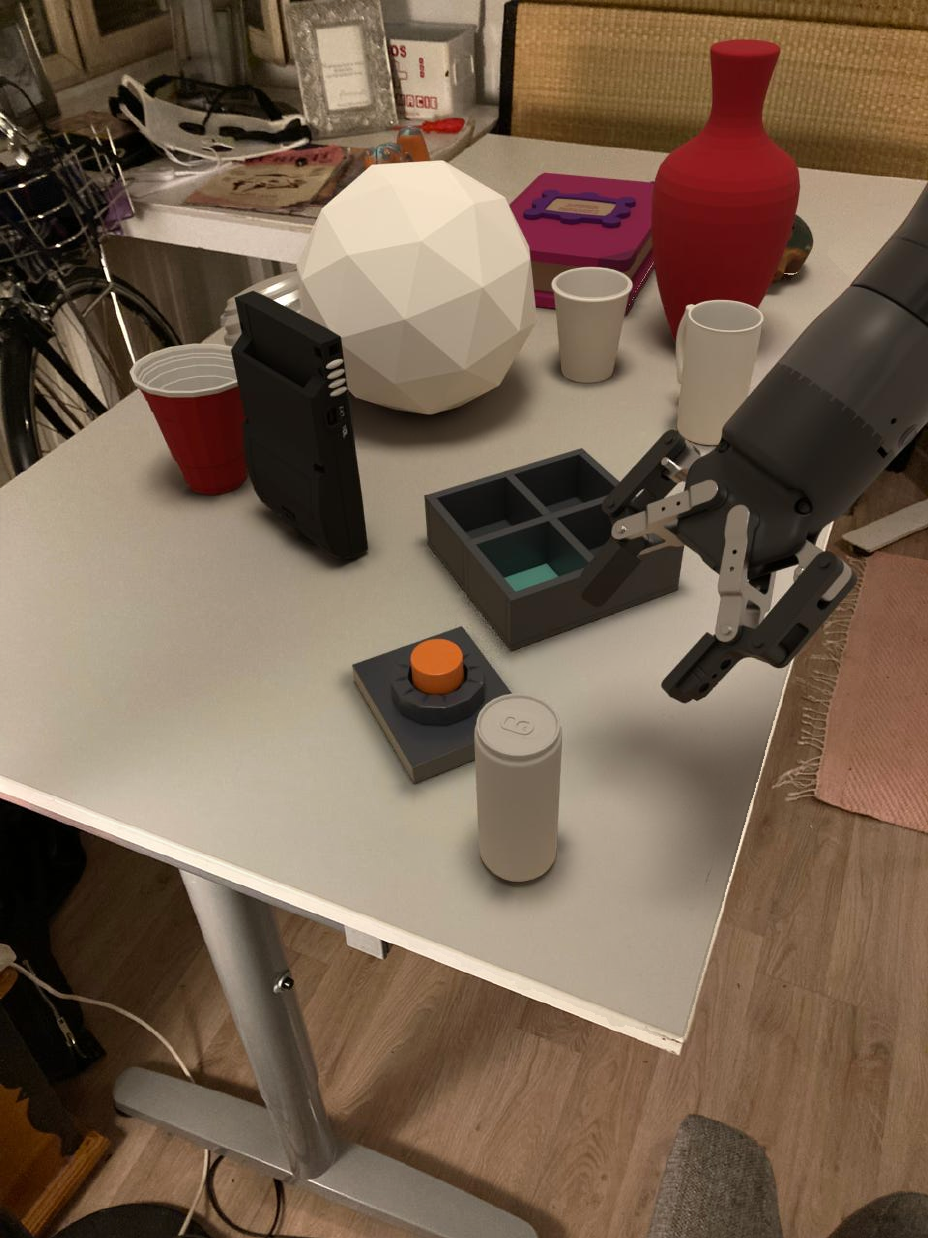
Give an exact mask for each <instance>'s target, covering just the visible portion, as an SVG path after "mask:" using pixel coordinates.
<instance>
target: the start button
mask: <svg viewBox="0 0 928 1238" xmlns="http://www.w3.org/2000/svg"><path fill="white" fill-rule="evenodd" d="M410 660H411V670H412V680H413V683H414V685H415V687H416V688H417V689H418V690H420V691H421V692H423V693H425V694H428V695H445V694H448V693H451V692H453V691H455V690H456V689H457V688H458V687H459V686H460V685H461V683H462V682H463V678H464V671H463V654H462V651H461V649H460V648H459V647H458V646H457V645H456V644H455V643H453V642H451V641H448V640H444V639H432V640H428V641H425V642H422V643H420V644H419V645H418V646H416V647H415V648H414V650H413V651H412V653H411V658H410Z"/></svg>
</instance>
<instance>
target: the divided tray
mask: <svg viewBox="0 0 928 1238" xmlns="http://www.w3.org/2000/svg"><path fill="white" fill-rule="evenodd" d="M620 481H621V480H619V479H617V477H615V476H614V475H613V474H612V473H610V471H608V469H606V468H605V467H604V466H603V465H602V464H601V463H600V462H598V461H597V459H595V458H594V457H592V455H591V454H589V453H588V452H587V451H586V450H585V449H584V448H582V447H580V448H576V449H574V450H570V451H567V452H564V453H559V454H556V455H554V456H551V457H548V458H544V459H540V460H537V461H533V462H531V463H527V464H524V465H521V466H518V467H514V468H510V469H508V470H504V471H501V472H497V473H495V474H490V475H488V476H484V477H481V478H478V479H475V480H471V481H468V482H465V483H461V484H458V485H455V486H451V487H447V488H445V489H442V490H438V491H435V492H431V493H428V494H425V495H424V497H423V498H424V499H423V500H424V508H425V509H424V510H425V512H424V513H425V524H426V526H425V527H426V540H427V545H428V547H429V548H430V549H431V551H432V552H433V553H434V554H435V555H436V557H437V558H438V559H439V561H440V562H441V563H442V564H443V565H444V567H445V568H446V569H447V571H448V572H449V573H450V574H451V576H452V577H453V579H454V580H455V581H456V582H457V584H458V585H459V586H460V588H461V589H462V590H463V591H464V593H465V594H466V595H467V596H468V599H470V601H471V602H472V603H473V604H474V605H475V607H476V608H477V609H478V610H479V612H480V614H481V615H482V616H483V617H484V619H486V621H487V622H488V624H489V625H490V626H491V627H492V629H494V631H495V633H496V634H497V635H498V636H499V638H501V640H502V641H503V643H504V644H505V646H506V647H507V648H508V650H510V651H511V652H513V651H515V650H518V649H521V648H524V647H526V646H529V645H531V644H535V643H537V642H540V641H542V640H545V639H548V638H550V637H553V636H556V635H559V634H562V633H564V632H567V631H570V630H573V629H575V628H578V627H580V626H584V625H586V624H589V623H592V622H594V621H596V620H599V619H602V618H605V617H607V616H610V615H613V614H615V613H618V612H621V611H624V610H627V609H630V608H633V607H635V606H638V605H640V604H642V603H646V602H649V601H651V600H654V599H656V598H660V597H662V596H664V595H667V594H670V593H673V592H675V591H678V590H679V584H680V578H681V571H682V563H683V558H684V550H685V545H684V546H680V547H675V546H667V547H664V548H661V549H658V550H654V551H651V552H648V553H645V554H638V557H639V558H640V559H641V560H642V561H641V563H640V564H639V565H638V566H637V567H636V568H635V570H634V571H633V572H632V573H631V574H630V575H629V577H628V578H627V579H626V580H625V581H624V582H623V584H622V585H621V586H620V587H619V588H618V589H617V591H616V592H615V593H614V594H613V595H612V596H611V597H610V599H609V600H608V601H607V602H606V603H605V604H604V605H603V606H601V607H594V606H593V605H591V604H589V603H587V602H586V601H584V600H582V599H581V597H580V596H579V595H578V594H577V593H576V592H575V587H576V585H577V584H578V583H579V582H580V581H579V580H578V579H579V577H580V575H581V572H582V571H583V570H584V568H585V567H586V566H587V565H588V564H589V562H590V561H591V560H592V559H594V557H595V555H596V554H597V553H598V552H599V551H600V549H601V548H602V547H603V546H604V545H605V543H606V542H607V541H608V540H609V539H610V537H611V535H612V533H611V531H612V524H611V521H610V519H609V516H608V514H606V513H605V512H604V511H603V510H602V503H603V501H604V499H605V498H606V497H607V496H608V495H609V493H610V492H611V491H612V490H613V489H614V488H615V487H616V486H617V485H618V484H619V482H620ZM637 496H638V495H636V496H635V497H634V498H633V500H632V501H631V502H630V503H629V504H631V503H632V502H633V501H634V500H635V499H636V497H637Z"/></svg>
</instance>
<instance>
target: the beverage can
mask: <svg viewBox="0 0 928 1238" xmlns="http://www.w3.org/2000/svg"><path fill="white" fill-rule="evenodd" d="M474 742H475V760H474V761H475V762H474V764H475V787H476V789H475V790H476V810H477V811H476V812H477V813H476V815H477V829H478V830H477V832H478V851H479V854H480V857H481V860H482V861H483V863H484V865H485V866H486V867H487V868H488V870H490V871H491V873H493V875H495V876H497V877H499V878H500V879H502V880H505V881H509V882H516V883H517V882H519V883H520V882H521V883H522V882H528V881H533V880H535V879H537V878H539V877H541V876H543V875H544V874H545V873H547V871H549V870H550V868H551V866H553V864H554V863H555V859H556V856H557V852H558V851H557V850H558V830H559V812H560V810H559V809H560V794H561V793H560V791H561V770H562V769H561V768H562V752H563V729H562V726H561V720H560V717H559V714H558V712H557V711H556V709H554V707H553V706H552V705H551V704H550V703H549V702H547V701H546V700H544V699H543V698H541V697H538V696H535V695H532V694H528V693H512V694H508V695H503V696H500V697H498V698H495V699H493V700H492V701H490V702H489V703H487V704H486V705H485V706H484V707H483V709H482V710H481V711H480V713H479V715H478V718H477V724H476V726H475V735H474Z"/></svg>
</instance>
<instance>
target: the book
mask: <svg viewBox="0 0 928 1238" xmlns="http://www.w3.org/2000/svg"><path fill="white" fill-rule="evenodd" d="M654 182H655V180H653V181H652V180H650V181H641V180H630V179H619V178H609V177H598V176H597V177H596V176H585V175H575V174H566V173H565V174H564V173H553V172H543V173H541V174H538V176H537V177H535V179H533V181H531V182H530V183H529V184H528V185H527V186H526V187H525V188H524V189H523V190H522V192H520V193H519V194H518V196H516V197H515V198H514V199H513V200H512V201H511V202H510V203H508V204H509V206H510V209H511V211H512V213H513V215H514V217H515V219H516V221H517V223H518V225H519V227H520V229H521V231H522V233H523V235H524V237H525V239H526V241H527V244H528V246H529V250H530V260H531V269H532V278H533V288H534V297H535V306H536V307H540V308H548V309H553V310H554V309H555V310H556V308H555V297H554V291H553V289H552V281H553V279H554V278H555V277H556V276H558V275H559V274H561V273H562V272H565V271H567V270H571V269H575V268H583V267H600V268H608V269H612V270H616V271H619V272H621V273H623V274H625V275H626V276H627V277H628V278H629V279H630V280H631V281H632V285H633V286H632V290H631V291H630V292H629V296H628V301H627V306H626V310H625V315H624V318H625V317H627V316H628V315H629V313H630V311H631V310H632V308H633V307H634V301H635V299H636V298H637V296H638V295H639V293H640V291H641V289H642V288H643V286H644V285H645V283H646V282H647V280H648V278H649V277H650V275H651V274H652V272H653V271H654V270H655V266H654V263H653V262H654V259H653V248H652V227H651V213H652V196H653V189H654ZM652 263H653V265H652ZM651 265H652V267H651V268H650V266H651ZM649 268H650V270H649V271H648V269H649ZM647 271H648V273H647ZM646 273H647V274H646ZM645 274H646V276H645ZM644 276H645V278H644ZM643 278H644V279H643ZM642 279H643V281H642ZM641 281H642V282H641ZM640 283H641V284H640ZM639 285H640V286H639ZM638 286H639V287H638ZM637 288H638V289H637ZM635 291H636V292H635ZM633 297H634V298H633ZM632 299H633V300H632ZM629 304H630V305H629Z"/></svg>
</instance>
